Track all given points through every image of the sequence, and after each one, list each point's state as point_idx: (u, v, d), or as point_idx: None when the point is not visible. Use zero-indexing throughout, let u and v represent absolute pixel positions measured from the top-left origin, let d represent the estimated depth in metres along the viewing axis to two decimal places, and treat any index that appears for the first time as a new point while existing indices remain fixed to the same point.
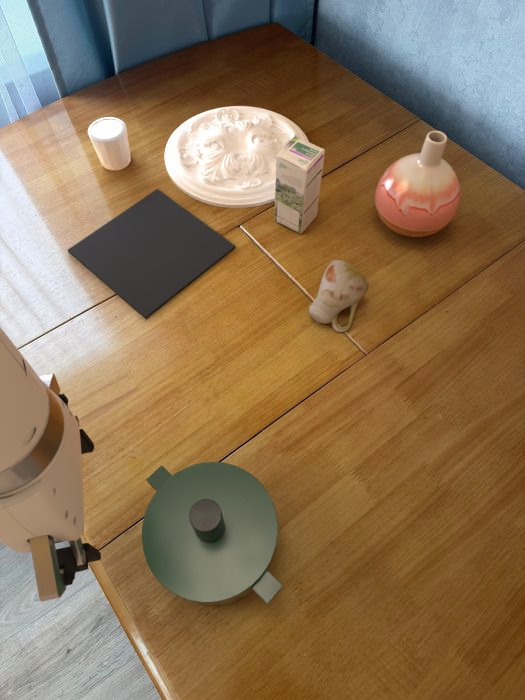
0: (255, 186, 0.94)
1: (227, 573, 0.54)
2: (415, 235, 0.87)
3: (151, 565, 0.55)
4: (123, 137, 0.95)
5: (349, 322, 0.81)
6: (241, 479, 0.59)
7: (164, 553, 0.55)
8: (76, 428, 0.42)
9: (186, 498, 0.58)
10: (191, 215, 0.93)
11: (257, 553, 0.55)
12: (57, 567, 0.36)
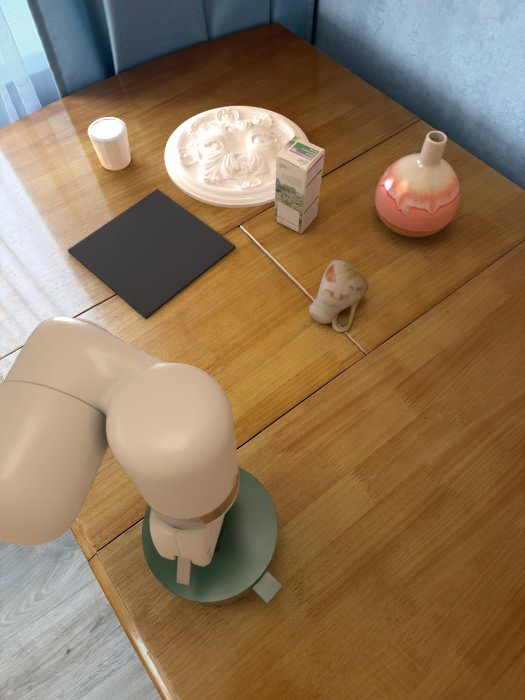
0: (255, 186, 0.94)
1: (227, 573, 0.54)
2: (415, 235, 0.87)
3: (151, 565, 0.55)
4: (123, 137, 0.95)
5: (349, 322, 0.81)
6: (241, 479, 0.59)
7: None
8: None
9: None
10: (191, 215, 0.93)
11: (257, 553, 0.55)
12: (193, 566, 0.47)
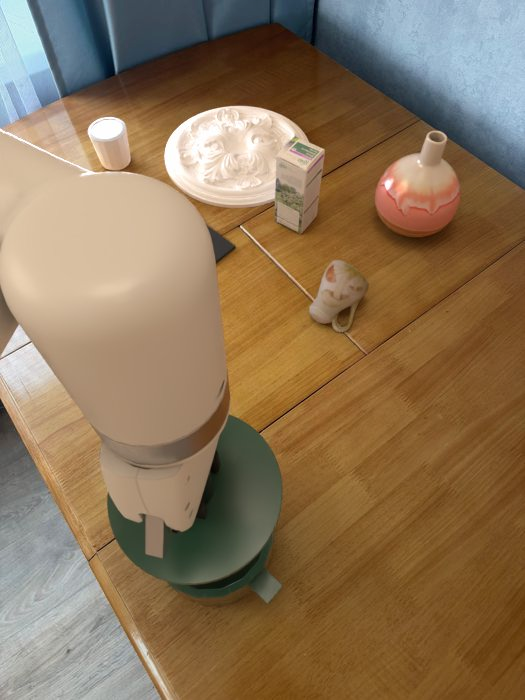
0: (255, 186, 0.94)
1: (217, 547, 0.42)
2: (415, 235, 0.87)
3: (118, 536, 0.42)
4: (123, 137, 0.95)
5: (349, 322, 0.81)
6: (236, 430, 0.47)
7: None
8: None
9: None
10: None
11: (255, 521, 0.43)
12: (167, 531, 0.34)
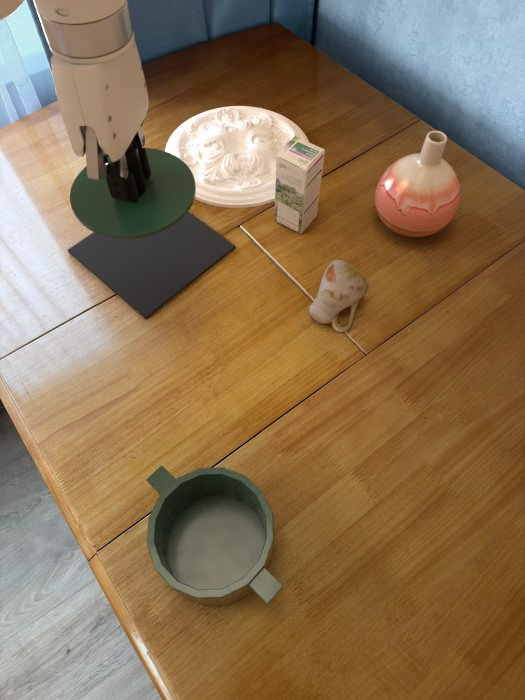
0: (255, 186, 0.94)
1: (145, 218, 0.60)
2: (415, 235, 0.87)
3: (76, 211, 0.60)
4: None
5: (349, 322, 0.81)
6: (165, 158, 0.65)
7: (89, 204, 0.61)
8: (145, 101, 0.55)
9: None
10: (191, 215, 0.93)
11: (174, 205, 0.61)
12: (101, 160, 0.52)
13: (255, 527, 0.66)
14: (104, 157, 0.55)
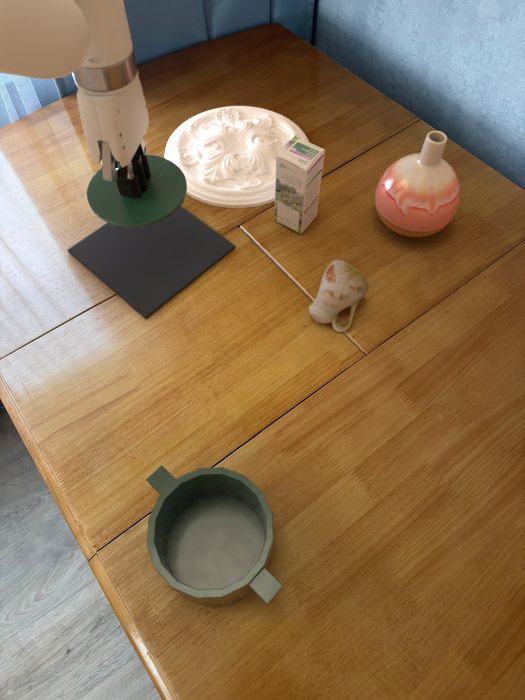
0: (255, 186, 0.94)
1: (147, 210, 0.76)
2: (415, 235, 0.87)
3: (92, 206, 0.76)
4: None
5: (349, 322, 0.81)
6: (162, 163, 0.80)
7: (102, 200, 0.76)
8: (146, 119, 0.71)
9: None
10: (191, 215, 0.93)
11: (169, 200, 0.76)
12: (114, 166, 0.68)
13: (255, 527, 0.66)
14: (115, 163, 0.71)
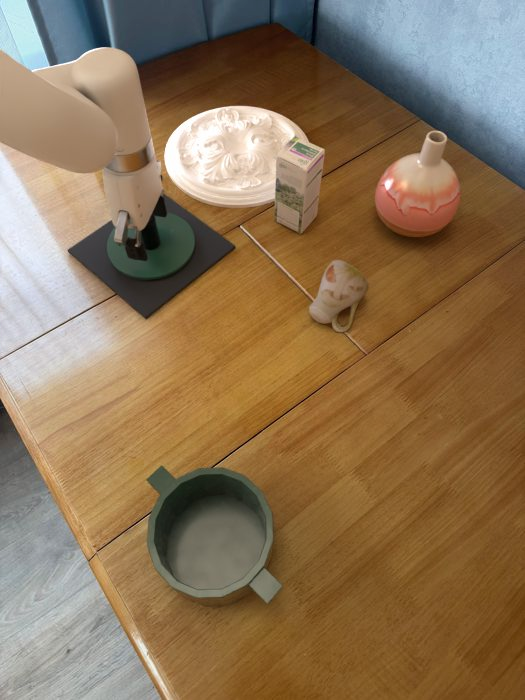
0: (255, 186, 0.94)
1: (160, 264, 0.86)
2: (415, 235, 0.87)
3: (112, 260, 0.86)
4: None
5: (349, 322, 0.81)
6: (173, 219, 0.91)
7: (120, 254, 0.87)
8: (159, 186, 0.81)
9: None
10: (191, 215, 0.93)
11: (180, 254, 0.87)
12: (126, 231, 0.76)
13: (255, 527, 0.66)
14: None
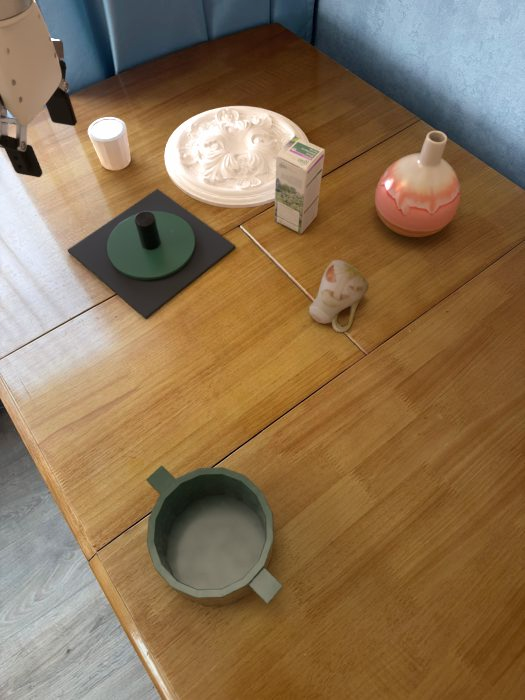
0: (255, 186, 0.94)
1: (160, 264, 0.86)
2: (415, 235, 0.87)
3: (112, 260, 0.86)
4: (123, 137, 0.95)
5: (349, 322, 0.81)
6: (173, 219, 0.91)
7: (120, 254, 0.87)
8: (56, 71, 0.59)
9: (136, 228, 0.90)
10: (191, 215, 0.93)
11: (180, 254, 0.87)
12: None
13: (255, 527, 0.66)
14: (5, 128, 0.57)
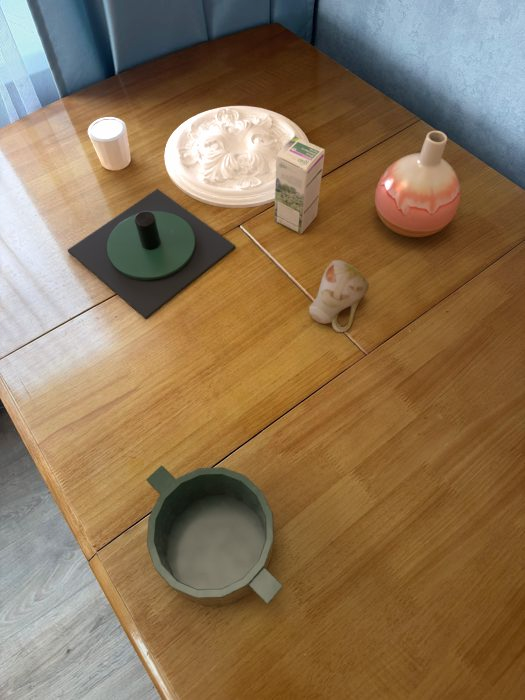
0: (255, 186, 0.94)
1: (160, 264, 0.86)
2: (415, 235, 0.87)
3: (112, 260, 0.86)
4: (123, 137, 0.95)
5: (349, 322, 0.81)
6: (173, 219, 0.91)
7: (120, 254, 0.87)
8: None
9: (136, 228, 0.90)
10: (191, 215, 0.93)
11: (180, 254, 0.87)
12: None
13: (255, 527, 0.66)
14: None
